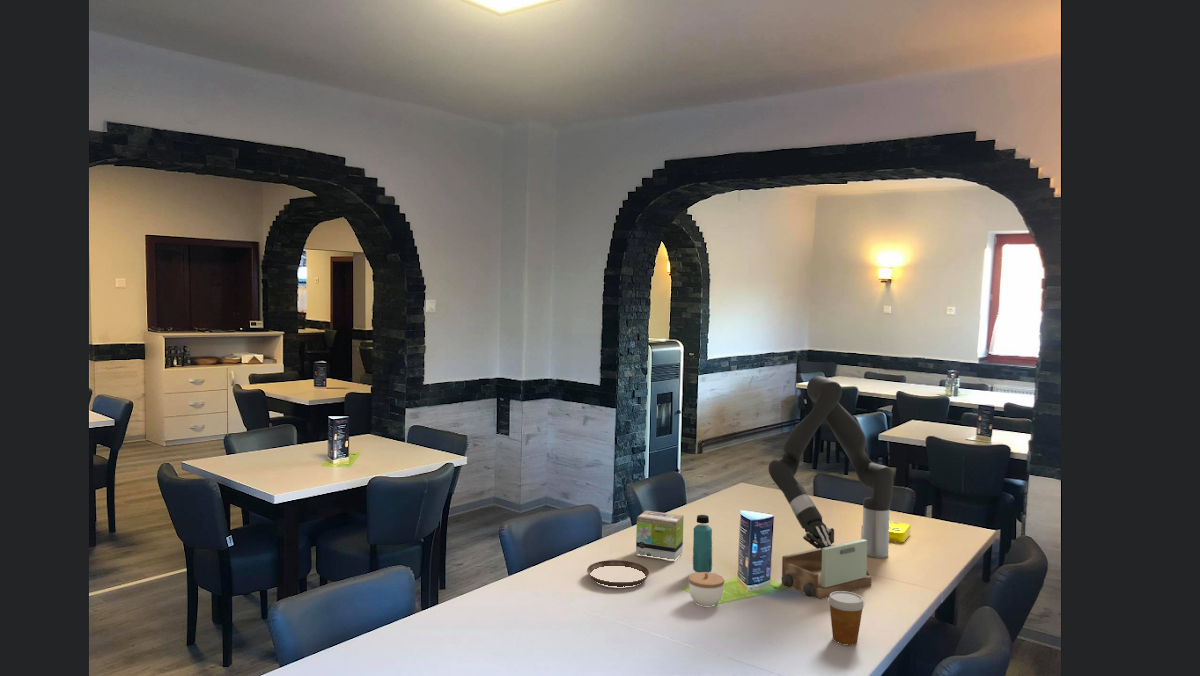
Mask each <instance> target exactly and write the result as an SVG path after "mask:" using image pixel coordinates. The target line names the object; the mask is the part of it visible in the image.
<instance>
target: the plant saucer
mask: <svg viewBox="0 0 1200 676" xmlns="http://www.w3.org/2000/svg"><path fill="white" fill-rule="evenodd" d="M604 566H625V567H631V568H634V569H637V570H639V571H642V572H643V573H644V574H645V576H646V577H645V578H643V579H641V580H638V581H633V582H609V581H604V580H600V579H597V578H595V577H593V576H591V575H590V573H591V572H592V571H593V570H594V569H597V568H599V567H604ZM586 572H587V574H588V576H589V578H591V580H592V579H593V580H594V581H596V582H598V583H600V584H604V585H608V586H617V587H623V586H624V587H625V586H633V585H637V584H640V583H641V584H643V583H644V582H646V580H647V579H648V577H649V575H650V570H649V568H648V567H646V566H645V565H643V564H641V563H638V562H635V561H630V560H624V559H622V560H620V559H609V560H601V561H597V562H594V563H591V564H590V565H589V566H588V567H587V568H586ZM593 580H592V581H593ZM594 581H593V582H594ZM596 582H595V583H596ZM642 582H643V583H642ZM641 584H640V585H641Z"/></svg>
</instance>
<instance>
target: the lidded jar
mask: <svg viewBox="0 0 1200 676" xmlns="http://www.w3.org/2000/svg"><path fill="white" fill-rule="evenodd" d="M724 583H725V579H724V577H723V576H722V575H720V574H718V573H713V572H694V573H692V574H690V575H688V591H689V594H690V597H691V599H692V600H693V601H694V602H695V604H696V603H697V604H699V605H702V606H712V605H714V604H716V605H717V603H719V602H720V601H721V599H722V596H723V594H724ZM697 604H696V605H697ZM699 605H698V606H699ZM702 606H701V607H702ZM712 607H713V606H712Z"/></svg>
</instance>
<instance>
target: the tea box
mask: <svg viewBox="0 0 1200 676" xmlns="http://www.w3.org/2000/svg"><path fill="white" fill-rule="evenodd" d="M635 536H636V538H635V540H636V541H635V544H636V545H635V555H636V554H640V555H647V556H653V557H660V558H667V559H674V560H675V559H676V558H677V557H678V556H679V555H680V554H681V553H682V554H683V544H684V515H681V514H675V513H667V512H660V511H653V510H646V509H645V510H644V511H643V512H642V513H641V514H640V515H638V516H637V517H636V535H635Z"/></svg>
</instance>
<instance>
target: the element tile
mask: <svg viewBox="0 0 1200 676" xmlns="http://www.w3.org/2000/svg"><path fill="white" fill-rule="evenodd" d="M909 535H910V536H911V524H909V523H906V522H905V523H904V522H897V521H892V520H889V542H893V541H896V542H895V543H899V542H903V543H906V541H907V540H908V538H909V537H910V536H909ZM906 539H907V540H906ZM905 540H906V541H905Z"/></svg>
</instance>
